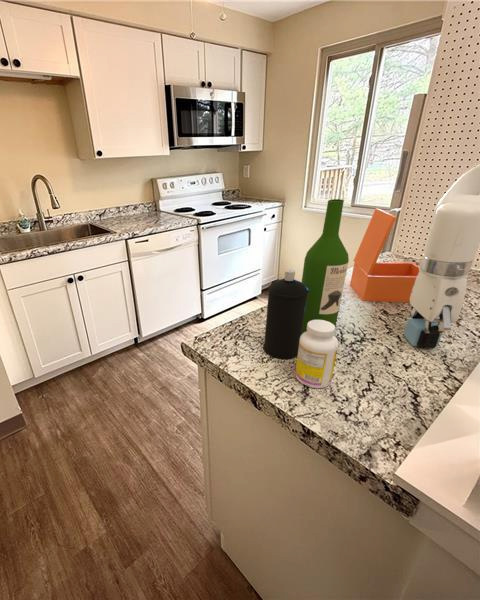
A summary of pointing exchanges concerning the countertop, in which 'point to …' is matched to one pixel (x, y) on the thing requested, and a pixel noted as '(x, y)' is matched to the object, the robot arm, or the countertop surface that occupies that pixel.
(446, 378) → the countertop surface
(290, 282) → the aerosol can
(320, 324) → the supplement bottle
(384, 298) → the orange hinged box
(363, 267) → the orange box lid
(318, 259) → the wine bottle
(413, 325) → the light blue cube
